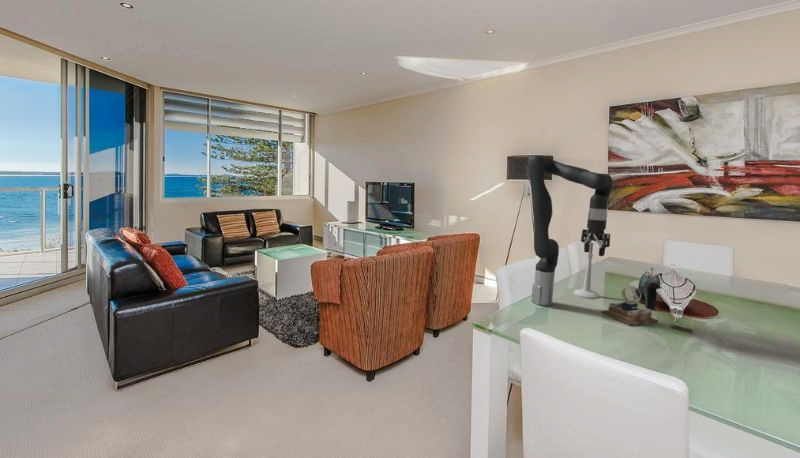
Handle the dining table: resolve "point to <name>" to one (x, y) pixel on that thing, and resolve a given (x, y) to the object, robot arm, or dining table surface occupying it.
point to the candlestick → (587, 280)
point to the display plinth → (649, 321)
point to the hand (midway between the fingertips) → (593, 254)
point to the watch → (627, 304)
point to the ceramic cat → (649, 289)
